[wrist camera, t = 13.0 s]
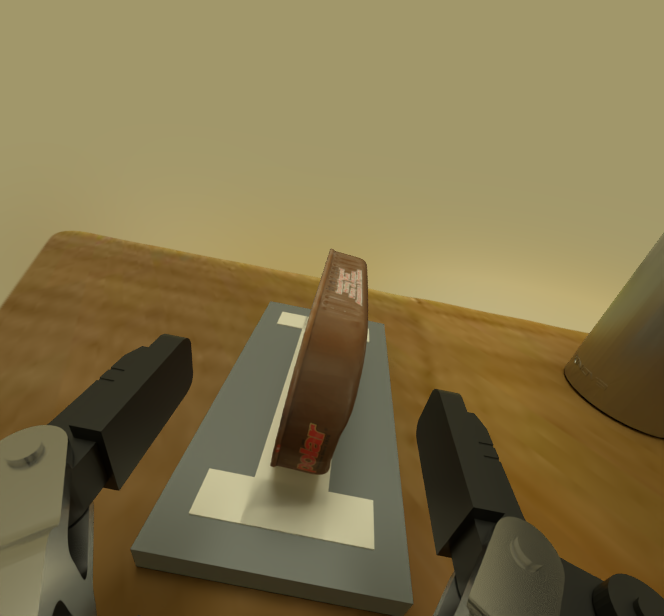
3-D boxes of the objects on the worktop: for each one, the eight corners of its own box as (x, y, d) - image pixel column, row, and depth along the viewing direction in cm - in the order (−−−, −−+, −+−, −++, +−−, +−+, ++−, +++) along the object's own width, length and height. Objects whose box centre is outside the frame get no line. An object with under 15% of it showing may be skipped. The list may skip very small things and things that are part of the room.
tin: (311, 324, 27) (327, 230, 22) (347, 331, 27) (369, 239, 22) (258, 506, 14) (272, 362, 9) (327, 520, 14) (373, 382, 9)
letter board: (380, 336, 30) (384, 323, 29) (401, 617, 12) (414, 603, 12) (269, 314, 30) (270, 300, 29) (136, 565, 12) (130, 547, 12)
